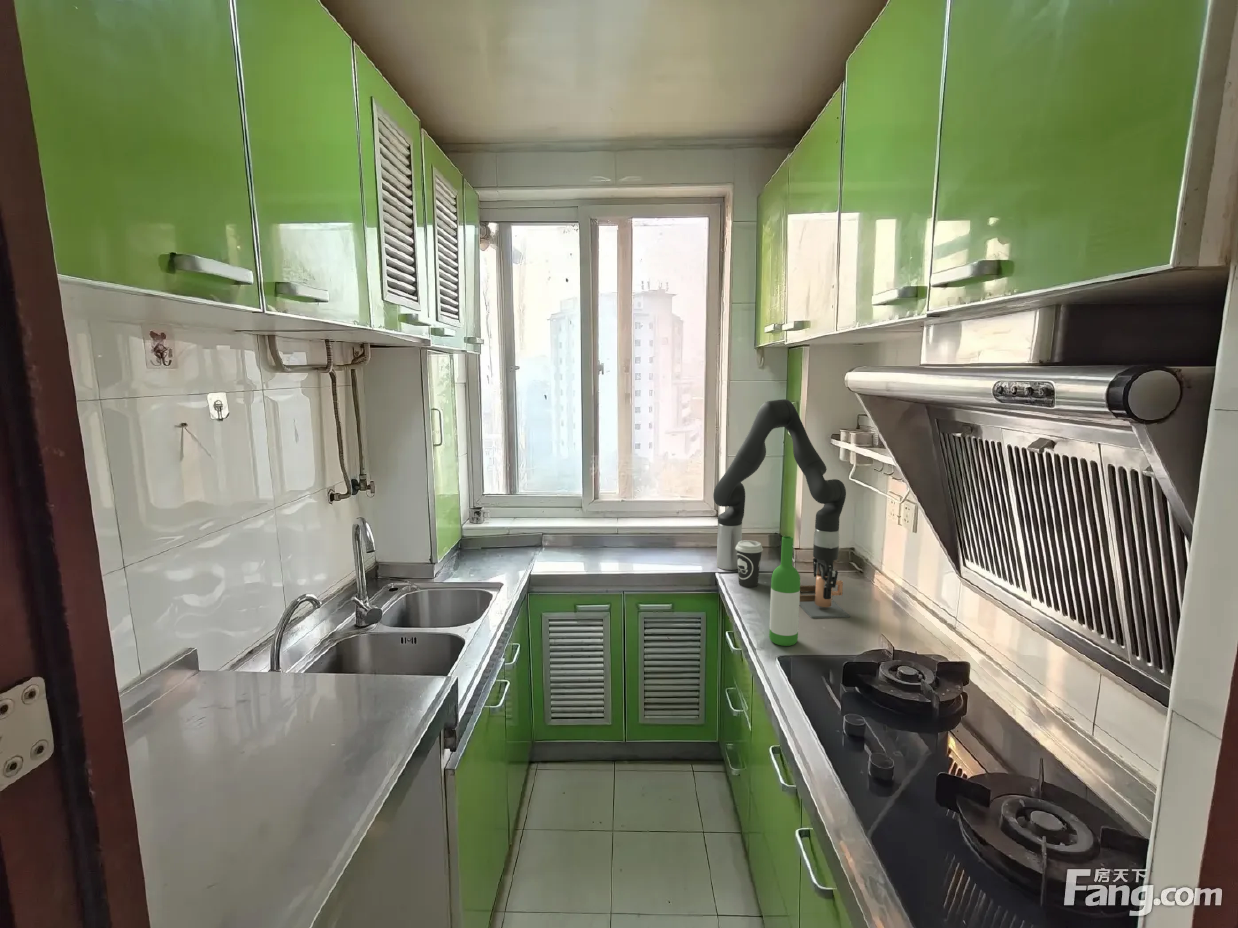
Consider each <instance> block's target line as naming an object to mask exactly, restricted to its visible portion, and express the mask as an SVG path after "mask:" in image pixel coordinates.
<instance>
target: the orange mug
mask: <svg viewBox="0 0 1238 928" xmlns="http://www.w3.org/2000/svg"><path fill="white" fill-rule="evenodd" d="M825 577H828V576H825ZM826 583H827V580H826ZM815 585H816V589H815V592H814V593H815V594H814V595H815V604H816V605H817V606H820V607H830V606H831V605H832V601H833V596H834V597H835V596H843V589H844V588H843V586H844V581H843V580H839V579H837V581H836V586H837V590H833V588H831V599H824V598H823V591H824V582H823V580H822V577H821V575H816V577H815Z"/></svg>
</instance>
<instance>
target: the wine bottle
mask: <svg viewBox="0 0 1238 928" xmlns="http://www.w3.org/2000/svg"><path fill="white" fill-rule="evenodd" d="M793 548H794V537H793V536H789V535H784V536H782V537H781V551H780V552H781V553H780V565H778V566H777V567H776V568H775V569H774V570H773V572H772V575H771V584H770V603H769V604H770V605H769V628H768V629H769V634H768V635H769V636H768V637H769V639H770V641H771V642H772V643H773V644H775V645H778V646H782V647H790V646H794V645H796V644H797V642H798V638H799V617H800V606H799V601H800V594H801V592H800V586H801V576H800V574H799V571H798V570H797V569H796V567H795V566H793V553H794V551H793Z"/></svg>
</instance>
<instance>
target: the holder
mask: <svg viewBox="0 0 1238 928" xmlns="http://www.w3.org/2000/svg"><path fill="white" fill-rule="evenodd" d="M815 589H816V584H814V585H813V584H812V585H811V584H810V585H800V591H815ZM806 601H815V594H804V595H802V594H801V593H800V601H799V602H806Z"/></svg>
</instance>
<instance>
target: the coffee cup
mask: <svg viewBox="0 0 1238 928" xmlns="http://www.w3.org/2000/svg"><path fill="white" fill-rule="evenodd" d="M735 549H736V550H737V561H738V569H737V575H738V576H737V577H738V585H739V586H741V587H743V588H756V587H757V586H758V584H759V574H760V567H761V561H762V560H761V559H762V553H763V551H764V548H763V546H762V543H761V542H759V541H757V540H748V539H747V540H742V541H739V542H738V544H737V545H736V548H735Z"/></svg>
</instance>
